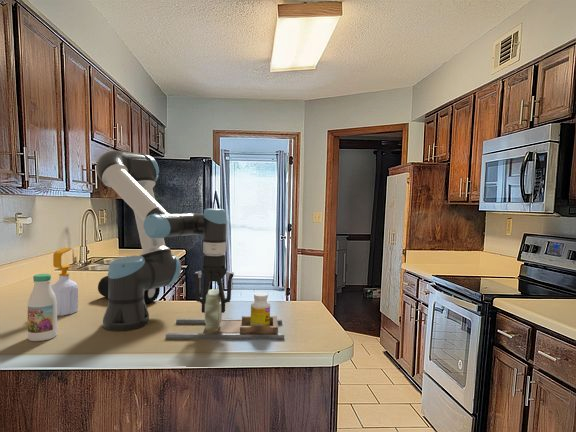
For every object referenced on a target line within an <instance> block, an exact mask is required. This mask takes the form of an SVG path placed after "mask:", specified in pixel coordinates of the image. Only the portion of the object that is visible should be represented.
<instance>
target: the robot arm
mask: <svg viewBox="0 0 576 432" xmlns="http://www.w3.org/2000/svg"><path fill="white" fill-rule="evenodd" d="M95 165H96V166H95V172H96V174H97V177H98V178H99V180H100V181H101V182H102V184H103V185H104V186H106V187H109V188H112V190H114V191H115V193H116V194H117V195H118V196H119V197H120V198H121V199H122V200H123V201H124V202H125V203H126V204H127V206H129V208H131V209H132V211H133V214H134V216H135V217H134V218H135V222H136V227H137V231H138V235H139V240H140V245H141V250H142V251H141V252H140V254H139V255H129V256H127V255H126V256H123V257H118V258H115V259H113V260H112V261H110V263H109V264H108V272H107V276H108V298H107V299H108V300H107V301H108V303H107V306H106V310H105V312H104V314H103V318H102V328H103V329H105V330H107V331H114V332H116V331H117V332H124V331H131V330H136V329H140V328H143V327H145V326H147V325H148V324H149V323H150V314H149V310H148V308H147V305H146V303H145V302H144V291H146V290H150V289H154V288H159V287H160V288H164V287H168V286H170V285H172V284H175V283H176V282H177V281H178V279H179V277H180V275H181V270H182V265H181V264H182V263H181V260H180V258H179V257H178V256H177V255H175V254H173V253H172V250H171V248H170V247H168V246H167V245H166V243H165V238H172V237H173V238H174V237H181V236H182V237H183V236H190V235H191V236H192V235H194V236H195V235H196V236H202V237H203V244H202V250H203V251H202V252H203V255H202V269H201V270H199V271H195V272H194V273H193V276H194V280H195V300H196V302H198V303H200V304H201V313H202V314H203V313H204V319H205V323H206V295H207V293H208V291H209V290H210V286H211V283H212V282H215V283H217V287H218V289H219V294H220V299H221V302H220V303H219V323H221V321H222V319H223V314H224V313H225V312H226V303H230V302H231V298H232V284H233V283H232V282H233V278H234V275H235V272H233V271H232V272H231V271H229V270H227V267H226V259H227V258H226V252H227V224H228V223H227V222H228V221H227V211H226V210H225V209H223V208H205V209H204V210H203V213H196V212H195V213H194V212H191V211H190V212H183V213H170V212H168V211H167V210H166V209H165V208H164V207H163V206H162V205H161V204H160V203H159V202H158V201H157V200H156V198H155V193H154V187H155V186H156V182H157V180H158V179H159V174H160V168H159V165H158V162H157V161H156V159H155V158H154V157H153V156H151V155H149V154H145V153H141V152H138V153H137V152H131V151H130V152H129V151H122V150H109V151H106V152H105V153H103V154H101V155H100V157H99V158H98V159H97V161H96V164H95ZM202 275H203V277H204V278H205V279H206V280H205V284H204V291H203V295H202V288H201V287H202V286H201V285H202V284H201V280H202V279H201V278H202ZM225 276H226V278H227V285H226V287H227V288H226V294H225V291H224V290H225V289H224V286H223V278H224V277H225Z"/></svg>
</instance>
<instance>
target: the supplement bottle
mask: <svg viewBox="0 0 576 432" xmlns="http://www.w3.org/2000/svg"><path fill="white" fill-rule="evenodd" d="M253 299H254V300H253V301H251V303H250V316H251V322H250V325H249V326H271V325H270V316H271V303H270V301H269V300H268V293H266V292H255V293H254V294H253Z"/></svg>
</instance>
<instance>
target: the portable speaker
mask: <svg viewBox="0 0 576 432" xmlns="http://www.w3.org/2000/svg"><path fill="white" fill-rule="evenodd" d="M97 290H98V293H99V294H100V295H101V296H103V297H104V298H107V299H108V275H106V276H103V277H102V278H100V280H99V282H98V285H97ZM160 290H161V287H159V288H154V289H150V290H146V291H144V302H145V304H148V303H152V302H155V301H156V300H157V298H158V297H159V294H160Z"/></svg>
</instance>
